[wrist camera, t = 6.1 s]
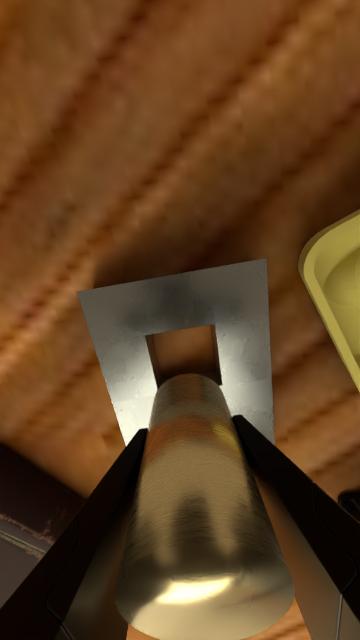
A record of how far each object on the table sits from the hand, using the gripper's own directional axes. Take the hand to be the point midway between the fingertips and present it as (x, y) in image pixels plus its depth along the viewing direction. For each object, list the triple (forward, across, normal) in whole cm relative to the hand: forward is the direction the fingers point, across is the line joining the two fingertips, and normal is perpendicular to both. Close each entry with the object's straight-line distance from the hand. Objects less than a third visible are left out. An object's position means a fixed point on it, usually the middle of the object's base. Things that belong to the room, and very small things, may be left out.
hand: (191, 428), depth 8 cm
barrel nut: (+2, 0, 0) cm, 2 cm away
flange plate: (+9, 0, +3) cm, 9 cm away
